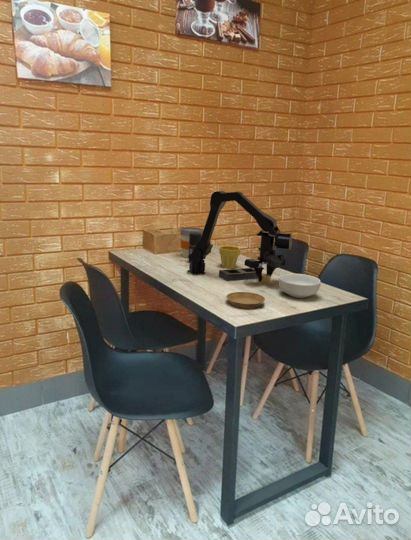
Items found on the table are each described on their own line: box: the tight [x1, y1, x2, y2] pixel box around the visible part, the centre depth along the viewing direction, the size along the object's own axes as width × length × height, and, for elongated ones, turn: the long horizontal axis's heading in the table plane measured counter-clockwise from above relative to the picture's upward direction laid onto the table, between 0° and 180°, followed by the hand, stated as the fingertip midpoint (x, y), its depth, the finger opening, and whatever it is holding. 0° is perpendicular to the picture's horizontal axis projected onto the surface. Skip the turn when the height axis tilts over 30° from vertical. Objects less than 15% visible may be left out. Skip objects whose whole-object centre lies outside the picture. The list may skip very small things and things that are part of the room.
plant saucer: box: [225, 291, 266, 309], centre depth 174 cm, size 15×15×3 cm
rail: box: [218, 267, 258, 282], centre depth 210 cm, size 18×8×3 cm, turn 117°
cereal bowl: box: [278, 273, 321, 299], centre depth 187 cm, size 17×17×7 cm
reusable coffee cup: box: [179, 227, 204, 259], centre depth 244 cm, size 13×12×15 cm
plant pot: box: [218, 245, 241, 269], centre depth 228 cm, size 10×10×10 cm
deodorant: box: [187, 233, 201, 264], centre depth 232 cm, size 6×6×15 cm
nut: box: [257, 272, 272, 286], centre depth 202 cm, size 4×4×4 cm
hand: (263, 281), depth 202 cm, fingers closed on nut, 4 cm apart
